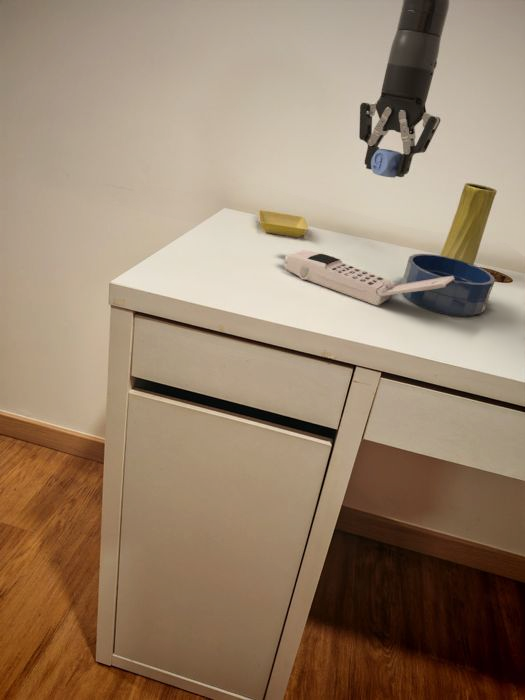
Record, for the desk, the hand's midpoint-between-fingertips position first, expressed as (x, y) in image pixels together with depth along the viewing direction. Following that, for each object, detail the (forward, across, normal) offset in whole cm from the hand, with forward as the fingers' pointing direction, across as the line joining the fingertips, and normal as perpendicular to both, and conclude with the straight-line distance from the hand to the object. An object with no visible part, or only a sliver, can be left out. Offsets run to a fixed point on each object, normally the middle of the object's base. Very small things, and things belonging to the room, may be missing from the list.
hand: (385, 172), depth 101 cm
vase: (+13, +16, +3) cm, 21 cm away
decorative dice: (+1, 0, 0) cm, 1 cm away
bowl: (+13, +20, -16) cm, 29 cm away
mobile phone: (+13, +10, -26) cm, 30 cm away
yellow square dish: (+13, -13, -9) cm, 21 cm away
